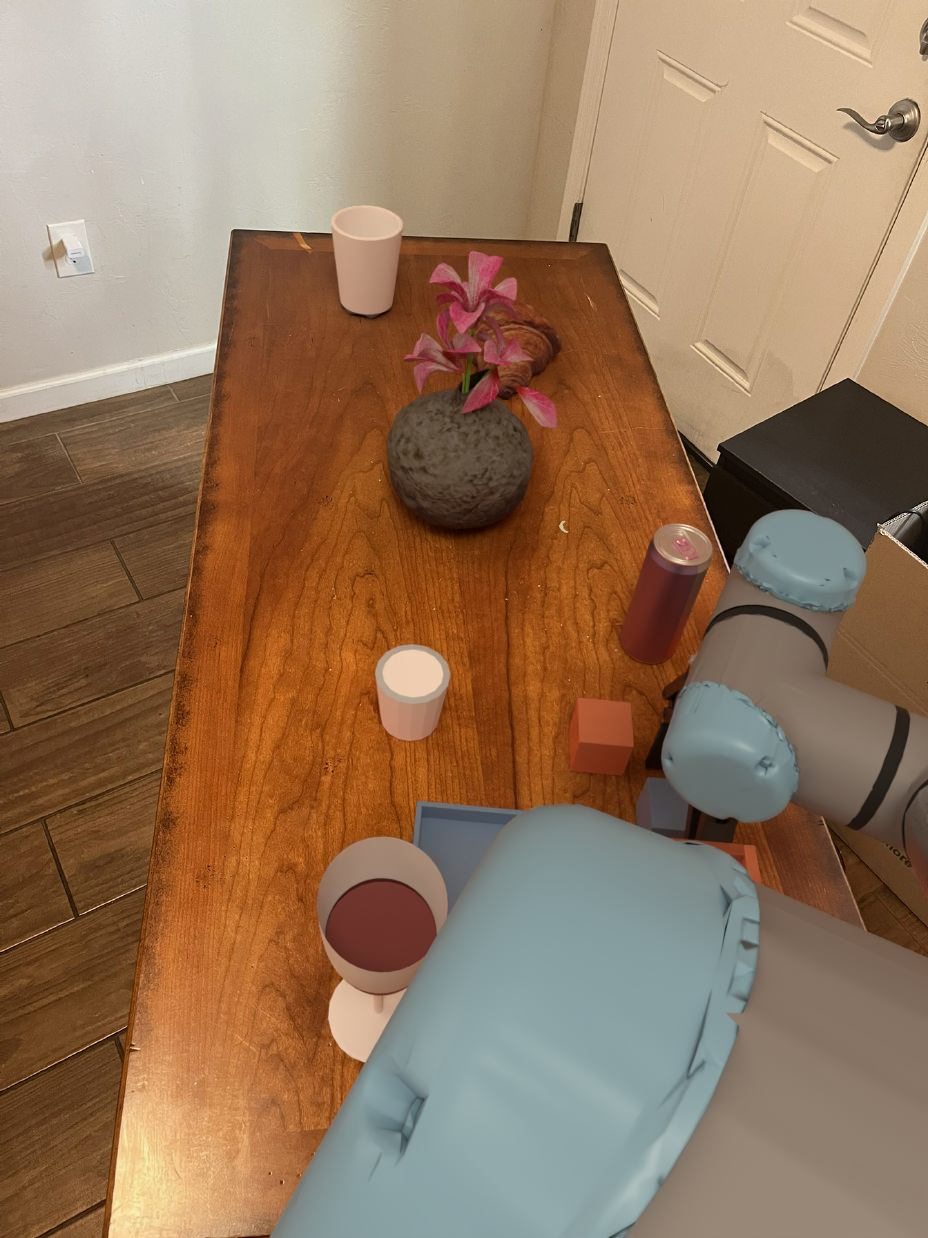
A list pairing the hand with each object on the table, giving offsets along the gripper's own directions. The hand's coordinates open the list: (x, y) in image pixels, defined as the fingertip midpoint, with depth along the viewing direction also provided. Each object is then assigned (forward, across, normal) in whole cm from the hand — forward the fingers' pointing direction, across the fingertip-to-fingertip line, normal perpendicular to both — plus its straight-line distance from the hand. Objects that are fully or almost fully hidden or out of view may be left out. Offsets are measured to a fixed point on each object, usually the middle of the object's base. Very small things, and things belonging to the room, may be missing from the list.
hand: (665, 830), depth 85 cm
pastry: (+1, -73, -16) cm, 75 cm away
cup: (+1, -82, -37) cm, 90 cm away
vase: (0, -41, -21) cm, 46 cm away
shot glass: (0, -10, -24) cm, 26 cm away
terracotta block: (0, -8, -6) cm, 10 cm away
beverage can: (0, -22, 0) cm, 22 cm away
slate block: (0, 0, 0) cm, 0 cm away
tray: (0, +6, -17) cm, 18 cm away
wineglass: (0, +18, -24) cm, 30 cm away
